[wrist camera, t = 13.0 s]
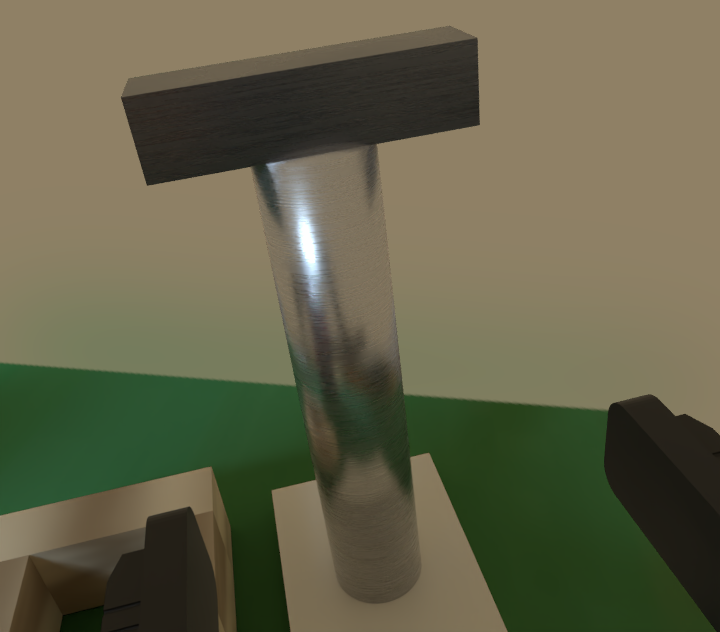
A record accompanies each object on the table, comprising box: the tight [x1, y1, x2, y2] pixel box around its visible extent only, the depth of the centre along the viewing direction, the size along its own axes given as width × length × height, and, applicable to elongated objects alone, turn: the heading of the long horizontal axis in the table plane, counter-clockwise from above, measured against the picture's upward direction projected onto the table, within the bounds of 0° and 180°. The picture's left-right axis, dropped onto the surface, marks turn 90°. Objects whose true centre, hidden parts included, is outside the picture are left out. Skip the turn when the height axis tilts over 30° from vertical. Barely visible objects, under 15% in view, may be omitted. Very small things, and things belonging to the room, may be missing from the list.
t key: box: [121, 26, 480, 604], centre depth 21 cm, size 8×3×18 cm, turn 102°
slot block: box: [0, 466, 237, 632], centre depth 24 cm, size 9×9×4 cm
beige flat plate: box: [272, 453, 507, 632], centre depth 26 cm, size 7×10×1 cm
